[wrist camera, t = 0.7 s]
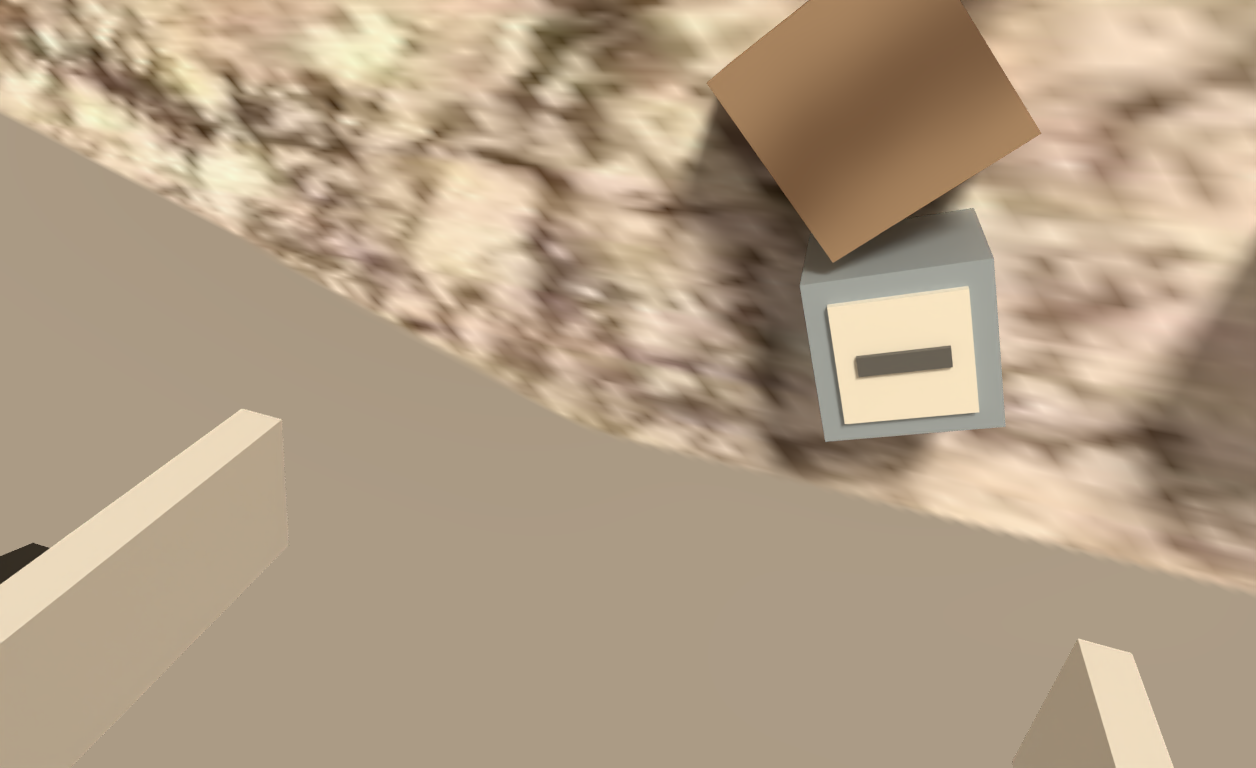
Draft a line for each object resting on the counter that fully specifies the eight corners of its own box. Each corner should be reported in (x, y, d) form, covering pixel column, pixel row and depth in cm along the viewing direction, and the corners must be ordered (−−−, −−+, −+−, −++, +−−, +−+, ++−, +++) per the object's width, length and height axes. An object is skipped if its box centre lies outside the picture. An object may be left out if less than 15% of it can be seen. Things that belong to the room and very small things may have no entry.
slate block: (810, 233, 34) (798, 290, 28) (973, 207, 32) (995, 263, 27) (831, 370, 36) (824, 448, 31) (984, 353, 35) (1007, 433, 29)
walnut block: (733, 60, 32) (706, 82, 27) (904, -75, 29) (911, -80, 24) (838, 213, 34) (832, 263, 28) (1011, 101, 30) (1041, 133, 25)
